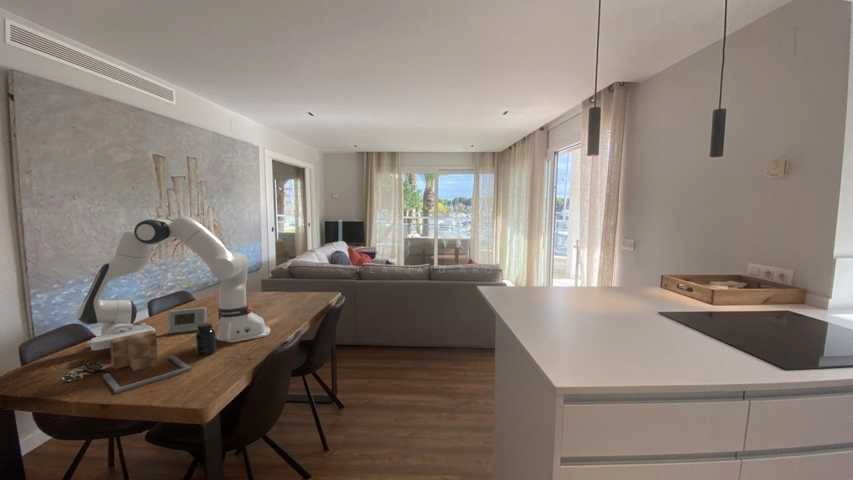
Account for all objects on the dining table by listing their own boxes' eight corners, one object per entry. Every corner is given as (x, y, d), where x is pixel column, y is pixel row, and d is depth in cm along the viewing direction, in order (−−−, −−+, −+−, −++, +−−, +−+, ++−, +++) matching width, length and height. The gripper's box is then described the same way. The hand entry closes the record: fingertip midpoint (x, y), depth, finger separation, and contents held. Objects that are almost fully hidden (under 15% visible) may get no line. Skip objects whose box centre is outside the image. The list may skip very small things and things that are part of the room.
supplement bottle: (202, 349, 146) (201, 322, 145) (219, 349, 146) (218, 321, 146) (193, 356, 139) (191, 327, 138) (210, 355, 140) (209, 326, 139)
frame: (173, 357, 138) (173, 355, 138) (191, 370, 127) (191, 367, 127) (103, 377, 122) (102, 374, 122) (115, 393, 110) (115, 390, 110)
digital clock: (165, 334, 165) (163, 313, 164) (174, 328, 174) (173, 308, 173) (203, 332, 168) (202, 310, 167) (210, 326, 177) (209, 306, 176)
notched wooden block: (154, 354, 141) (152, 330, 140) (164, 362, 133) (162, 337, 133) (111, 365, 131) (109, 340, 130) (119, 375, 123) (117, 347, 122)
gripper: (85, 334, 139) (92, 342, 130) (149, 322, 155) (158, 328, 146) (86, 349, 139) (93, 358, 131) (149, 335, 155) (159, 342, 147)
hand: (128, 342), depth 139 cm, fingers closed
